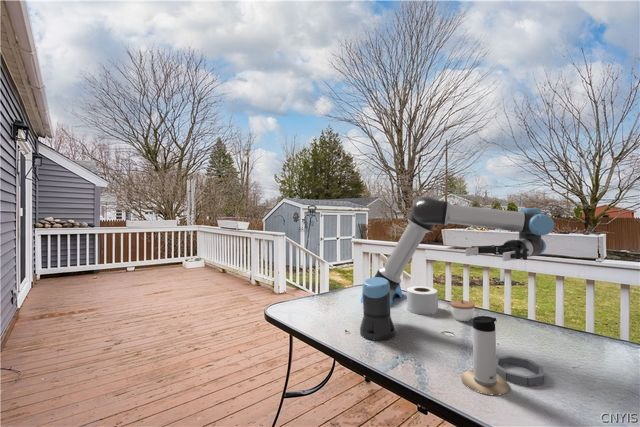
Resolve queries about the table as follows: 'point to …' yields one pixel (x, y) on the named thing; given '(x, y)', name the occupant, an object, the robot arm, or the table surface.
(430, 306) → the toilet paper roll
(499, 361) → the collar
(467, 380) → the coaster
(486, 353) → the travel mug
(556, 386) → the table surface
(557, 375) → the table surface
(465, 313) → the lidded jar
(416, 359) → the table surface
